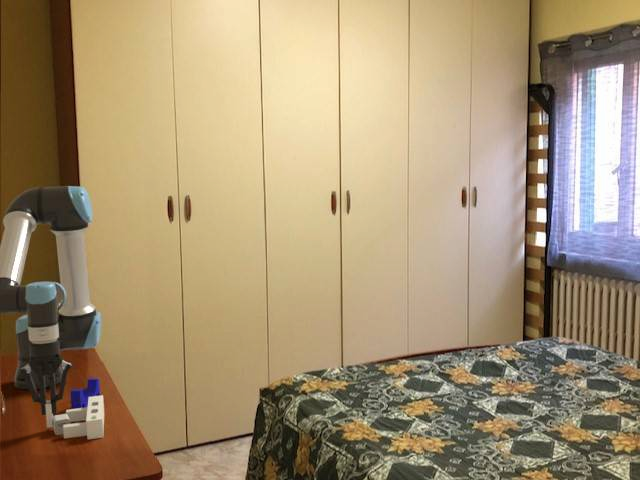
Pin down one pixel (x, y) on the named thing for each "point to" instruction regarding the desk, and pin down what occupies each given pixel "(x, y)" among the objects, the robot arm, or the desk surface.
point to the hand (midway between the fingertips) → (50, 425)
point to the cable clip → (85, 394)
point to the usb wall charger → (60, 423)
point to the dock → (93, 420)
